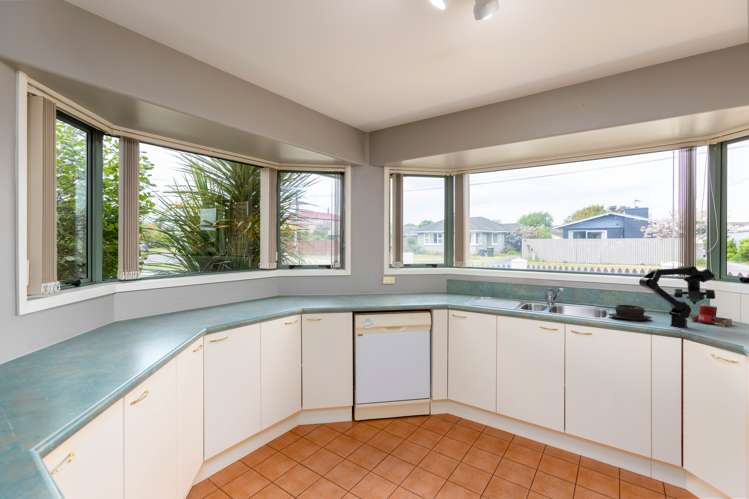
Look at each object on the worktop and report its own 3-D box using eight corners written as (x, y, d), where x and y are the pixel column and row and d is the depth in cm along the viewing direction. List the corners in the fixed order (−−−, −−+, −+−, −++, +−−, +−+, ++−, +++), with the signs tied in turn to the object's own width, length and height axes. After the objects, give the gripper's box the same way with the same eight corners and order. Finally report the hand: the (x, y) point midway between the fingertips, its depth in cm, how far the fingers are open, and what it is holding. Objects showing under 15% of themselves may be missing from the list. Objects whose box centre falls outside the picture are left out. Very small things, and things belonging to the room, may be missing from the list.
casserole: (640, 316, 243) (640, 304, 243) (659, 322, 225) (659, 309, 225) (602, 315, 246) (602, 303, 246) (617, 321, 228) (617, 308, 228)
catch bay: (723, 326, 214) (723, 321, 214) (691, 321, 228) (691, 316, 228) (731, 324, 219) (731, 319, 219) (700, 319, 233) (700, 314, 233)
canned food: (714, 324, 218) (717, 306, 218) (697, 321, 223) (699, 304, 223) (715, 323, 223) (717, 306, 223) (698, 320, 229) (700, 304, 229)
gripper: (673, 292, 215) (675, 311, 222) (715, 293, 203) (716, 313, 209) (673, 281, 223) (674, 300, 229) (714, 281, 210) (714, 301, 216)
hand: (694, 304), depth 221 cm, fingers closed
